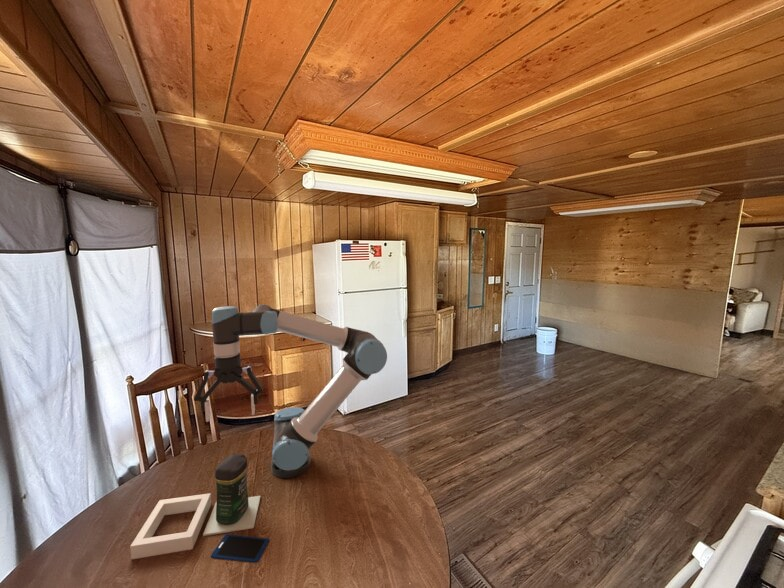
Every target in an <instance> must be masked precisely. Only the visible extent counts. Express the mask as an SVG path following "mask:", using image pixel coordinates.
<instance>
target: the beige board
mask: <svg viewBox="0 0 784 588" xmlns="http://www.w3.org/2000/svg"><path fill="white" fill-rule="evenodd" d="M261 497H262V496H261V495H256V496H248V504H249V505H248V508H247V510H246V512H245V513H244V514H243V516H242V517H241V518H240V519H239V520H238V521H237V522H236V523H234V524H230V525H223V524H220V523H218V522H217V521H216V504H217V501H215V503H214V506H213V509H212V512H211V514H210V516H209V519H208V521H207V523H206V526H205V529H204V531H203V534H202V536H203V537H207V536H213V535H218V534H220V535H221V534H224V533H225V534H226V533H230V532H231V533H232V532H236V531H237V532H239V531H242V530H243V531H244V530H248V529H249V530H250V529H254V528H255V523H256V519H257V514H258V511H259V506H260V501H261Z"/></svg>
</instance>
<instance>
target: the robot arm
mask: <svg viewBox="0 0 784 588" xmlns="http://www.w3.org/2000/svg"><path fill="white" fill-rule="evenodd" d="M211 329H212V338H213V339H212V340H213V342H212V344H213V355H214V370H210V369H206V370H205V372H204V373H203V379H202V382H201V383H200V386H199V387H198V390H197V392H196V394H195V396H194V398H193V401H194V402H200V405H201V407H200V409H201V411H202V412H205V422H206V423H209V421H210V419H211V407H210V398H208V397H210V395H211V394H212V393H213V392H214V391H215V390H216V388H217V387H218V386H219V385H220V383H221V384H228V383H232V384H233V383H235V382H237V383H238V384H240V385H241V386H242V387H244V388H245V389H246V390H247V391H248V392H249V393H250V394H251V395H250V404H251V406H250V407H251V415H252V416H255V412H256V405H258V402H259V394H262V393H263V392H264V386H262V384H261V383H260V381H259V380H258V378H257V377H256V375H255V373H254V372H253V367H252V365H247V366H245V367H243V366H242V363H241V362H242V361H241V360H242V359H241V352H240V351H241V346H240V345H241V344H240V336H257V335H270V334H276V333H277V332H279V333H280V332H281V333H284V334H289V335H291V336H295V337H300V338H303V339H307V340H310V341H314V342H317V343H322V344H325V345H329V346H332V347H336V348H337V349H338V350H339V351H341V352H345V353H346V355H345V356H344V357H343V359H342V364H343V365H342V366H341V367H340V369H339V370H337V372H336V373H335V374H334V375H333V377H332V378H331V379H330V380H329V381H328V382H327V383H326V385H325V386H324V387H323V388H322V389H321V391H320V392H319V393H318V394H317V395H316V396H315V398H314V399H313V400H312V401H311V403H309V405H308V406H307V407H306V409H305V408H303V407H297V406H295V407H294V406H293V407H291V406H289V407H285V408H282V409H279V410H278V411H276V412H275V414H274V419H273V421H274V434H273V441H272V443H273V444H272V451H271V454H272V455H271V456H272V458H271V461H270V471H271V474H272V475H274V476H275V477H276V478H281V479H288V478H289V479H290V478H295V477H298V476H300V475H302V474H304V473H305V472H307V470H308V469H309V468H310V466H311V463H310V462H311V455H310V454H311V453H310V452H309V451H310V449H312V447H313V446H314V445H315V443H316V442H317V441H318V433H319V432H320V431H321V429H322V428H323V427H324V425H325V424H326V423H327V422H328V421H329V420H330V418H332V416H333V415H334V414H335V412H336V411H337V410H338V409H339V407H341V405H342V404H343V403H344V401H346V399H347V398H348V397H349V395H350V394H351V393H352V392H353V391H354V390H355V388H356V387H357V386H358V384H360V382H361V381H367V380H368V379H369V378H371V376H372V375H373V374H378V373H380V372H381V371H382V370H383V369H384V367H385V366H386V364H387V361H388V353H387V350H386V347H385V346H384V344H383V343H382V341H381V340H379V339H378V338H376V336H375V335H374V334H373V333H371V332H369V331H366V330H360V329H356V328H352V327H348V326H345V327H339V326H336V325H332V324H328V323H325V322H321V321H318V320H315V319H311V318H308V317H304V316H300V315H299V314H298V315H297V314H294V313H290V312H286V311H283V310H280V309H276V308H273V307H271V306H270V305H268V304H260V305H257V306H256V307H253V310H252V311H249V312H239V310H238V307H236V306H231V305H230V306H229V305H226V306H218V307H214V308H213V310H211ZM243 373H244V374H246V375H248V377H249V379H250V381H251V383H252V384H251V383H250V382H249V381H248V380H247V379H245V377H244V376H243V375H242V374H243ZM212 376H214V377H215V378H216V380H215V381H214V382H213V383H212V384H211V385H210V387H209V388H208V390H207V391H206V392H205V393H204V394H203V392H204V389H205V388H206V385H207V383H208V380H209V379H210V378H212ZM253 385H254V386H253ZM202 394H203V395H202Z"/></svg>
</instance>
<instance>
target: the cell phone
mask: <svg viewBox="0 0 784 588" xmlns="http://www.w3.org/2000/svg"><path fill="white" fill-rule="evenodd" d="M269 543H270V539H269V538H266V537H259V536H258V537H257V536H256V537H255V536H247V535H237V534H230V533H229V534H228V533H227V534H225V535H224V536H223V537H222V539H221V540H220V542H219V543H218V545H217V546H216V547H215V549H214V550H213V551H212V553H211V554H210V558H211V559H219V560H224V561H225V560H227V561H236V562H244V563H255V564H256V563H258V562H259V561H260V560H261V557H262V556H263V554H264V553H265V550H266V549H267V546H268V544H269Z"/></svg>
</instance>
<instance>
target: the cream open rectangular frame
mask: <svg viewBox="0 0 784 588" xmlns="http://www.w3.org/2000/svg"><path fill="white" fill-rule="evenodd" d="M211 505H212V494H211V492H210V493H202V494H195V495H188V496H179V497H174V498H173V497H172V498H167V499H159V501H158V502H157V504H156V505H155V507H154V509H152V511H151V513H150V514H149V516H148V518H147V519H146V520H145V522H144V524H143V525H142V527H141V529H140V530H139V532H138V533H137V535H136V537H135V538H134V540H133V541H132V543H131V544H130V546H129V547H130V559H131V560H136V559H137V560H138V559H142V558H148V557H154V556H159V555H164V554H165V555H166V554H171V553H178V552H184V551H190V550H194V547H195V545H196V543H197V540H198V537H199V534H200V532H201V529H202V527H203V524H205V520H206V517H207V515H208V513H209V510H210V508H211ZM189 512H194V515H193V517H192V520H191V521H190V524H189V526H188V528H187V530H186V531H182V532H178V533H177V532H176V533H171V534H164V535H158V536H154V534H155V533H156V531H157V529H158V527H159V525H160V524H161V522H162V521H163V518H164V517H165V516H168V515H169V516H170V515H176V514H182V513H183V514H184V513H189Z"/></svg>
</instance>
